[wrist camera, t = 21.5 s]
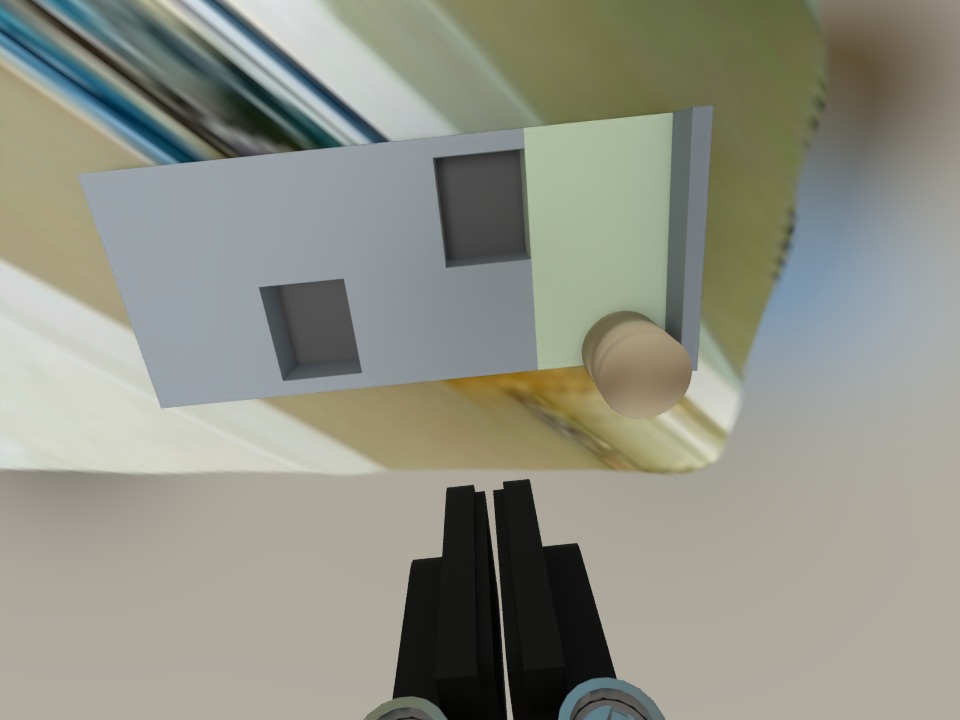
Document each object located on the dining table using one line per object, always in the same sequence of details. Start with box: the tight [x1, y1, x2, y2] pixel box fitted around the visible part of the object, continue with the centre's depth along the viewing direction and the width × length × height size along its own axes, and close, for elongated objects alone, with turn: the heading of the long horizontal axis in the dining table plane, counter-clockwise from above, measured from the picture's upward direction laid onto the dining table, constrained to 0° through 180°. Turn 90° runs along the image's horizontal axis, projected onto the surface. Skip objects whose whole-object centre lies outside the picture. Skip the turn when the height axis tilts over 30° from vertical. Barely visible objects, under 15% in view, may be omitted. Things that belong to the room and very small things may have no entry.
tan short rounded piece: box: [582, 311, 692, 418], centre depth 30 cm, size 5×5×4 cm
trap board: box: [78, 105, 713, 408], centre depth 30 cm, size 14×33×6 cm, turn 96°
